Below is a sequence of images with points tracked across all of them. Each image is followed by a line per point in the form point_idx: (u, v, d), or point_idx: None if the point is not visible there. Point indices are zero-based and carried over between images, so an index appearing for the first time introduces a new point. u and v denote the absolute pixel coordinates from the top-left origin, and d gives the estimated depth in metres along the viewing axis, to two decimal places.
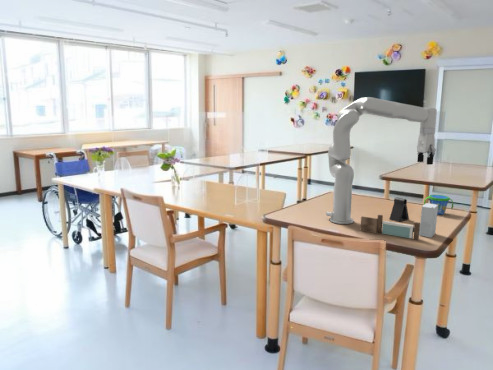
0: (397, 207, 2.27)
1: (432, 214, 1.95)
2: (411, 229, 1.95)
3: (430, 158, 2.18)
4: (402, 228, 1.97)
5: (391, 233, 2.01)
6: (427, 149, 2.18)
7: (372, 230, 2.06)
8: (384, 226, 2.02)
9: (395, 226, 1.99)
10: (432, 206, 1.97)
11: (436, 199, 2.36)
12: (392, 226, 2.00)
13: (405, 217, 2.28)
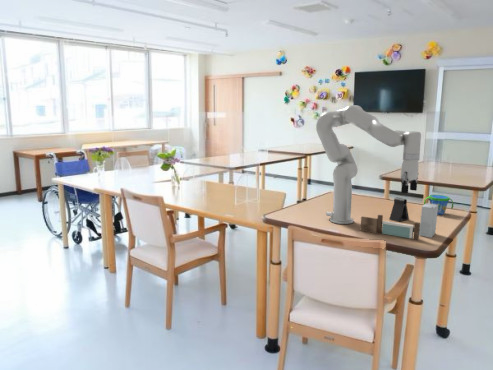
0: (397, 207, 2.27)
1: (432, 214, 1.95)
2: (411, 229, 1.95)
3: (403, 186, 2.00)
4: (402, 228, 1.97)
5: (391, 233, 2.01)
6: None
7: (372, 230, 2.06)
8: (384, 226, 2.02)
9: (395, 226, 1.99)
10: (432, 206, 1.97)
11: (436, 199, 2.36)
12: (392, 226, 2.00)
13: (405, 217, 2.28)
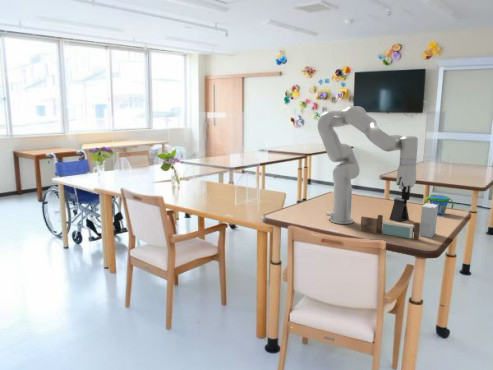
0: (397, 207, 2.27)
1: (432, 214, 1.95)
2: (411, 229, 1.95)
3: (403, 193, 2.01)
4: (402, 228, 1.97)
5: (391, 233, 2.01)
6: (397, 181, 1.99)
7: (372, 230, 2.06)
8: (384, 226, 2.02)
9: (395, 226, 1.99)
10: (432, 206, 1.97)
11: (436, 199, 2.36)
12: (392, 226, 2.00)
13: (405, 217, 2.28)
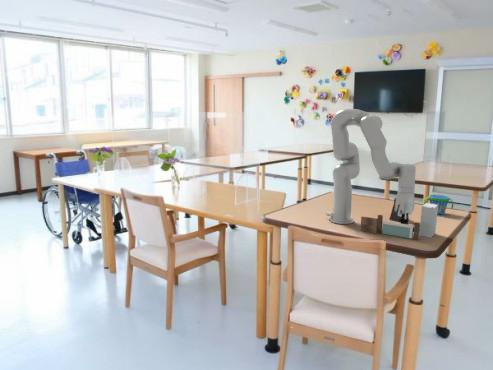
0: None
1: (432, 214, 1.95)
2: (411, 229, 1.95)
3: (402, 220, 2.03)
4: (402, 228, 1.97)
5: (391, 233, 2.01)
6: (395, 209, 2.01)
7: (372, 230, 2.06)
8: (384, 226, 2.02)
9: (395, 226, 1.99)
10: (432, 206, 1.97)
11: (436, 199, 2.36)
12: (392, 226, 2.00)
13: None
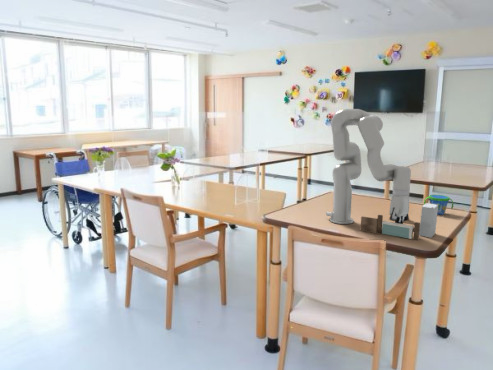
0: None
1: (432, 214, 1.95)
2: (410, 229, 1.94)
3: None
4: (402, 228, 1.97)
5: (391, 233, 2.00)
6: (390, 211, 1.99)
7: (372, 230, 2.06)
8: (384, 226, 2.02)
9: (395, 226, 1.99)
10: (432, 206, 1.97)
11: (436, 199, 2.36)
12: (392, 226, 2.00)
13: (405, 217, 2.28)
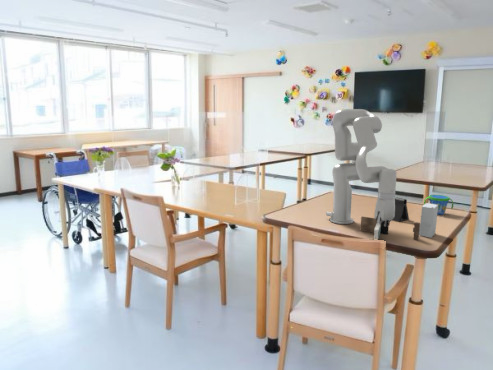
0: (397, 207, 2.27)
1: (432, 214, 1.95)
2: None
3: (382, 227, 1.93)
4: None
5: None
6: (375, 215, 1.91)
7: (372, 230, 2.06)
8: None
9: None
10: (432, 206, 1.97)
11: (436, 199, 2.36)
12: None
13: (405, 217, 2.28)
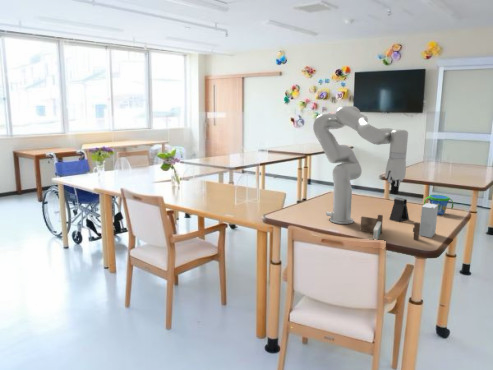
0: (397, 207, 2.27)
1: (432, 214, 1.95)
2: None
3: (392, 187, 1.99)
4: None
5: None
6: (386, 175, 1.97)
7: (372, 230, 2.06)
8: None
9: None
10: (432, 206, 1.97)
11: (436, 199, 2.36)
12: None
13: (405, 217, 2.28)
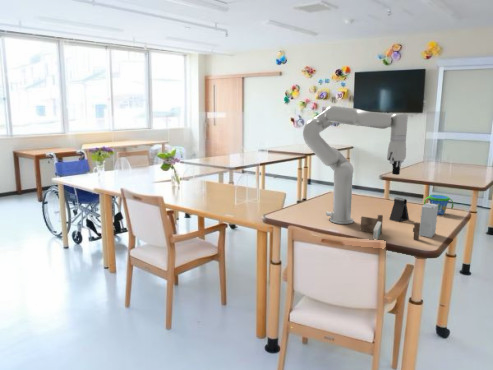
0: (397, 207, 2.27)
1: (432, 214, 1.95)
2: None
3: (394, 168, 2.12)
4: None
5: None
6: (387, 156, 2.10)
7: (372, 230, 2.06)
8: None
9: None
10: (432, 206, 1.97)
11: (436, 199, 2.36)
12: None
13: (405, 217, 2.28)
